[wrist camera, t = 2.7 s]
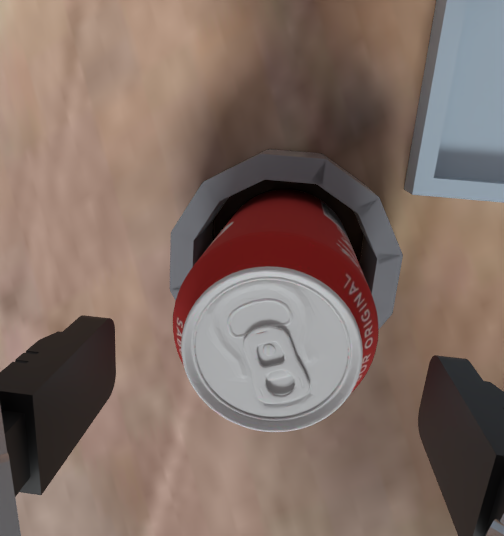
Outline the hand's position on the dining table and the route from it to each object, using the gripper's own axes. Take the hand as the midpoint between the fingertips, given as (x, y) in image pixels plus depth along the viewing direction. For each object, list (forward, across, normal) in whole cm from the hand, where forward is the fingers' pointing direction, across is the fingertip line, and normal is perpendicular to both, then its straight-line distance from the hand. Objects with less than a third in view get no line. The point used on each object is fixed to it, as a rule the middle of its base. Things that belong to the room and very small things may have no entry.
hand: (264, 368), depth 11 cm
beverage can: (+13, 0, 0) cm, 13 cm away
